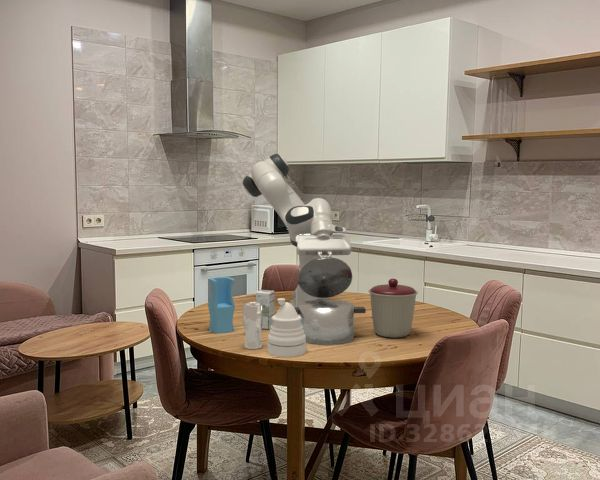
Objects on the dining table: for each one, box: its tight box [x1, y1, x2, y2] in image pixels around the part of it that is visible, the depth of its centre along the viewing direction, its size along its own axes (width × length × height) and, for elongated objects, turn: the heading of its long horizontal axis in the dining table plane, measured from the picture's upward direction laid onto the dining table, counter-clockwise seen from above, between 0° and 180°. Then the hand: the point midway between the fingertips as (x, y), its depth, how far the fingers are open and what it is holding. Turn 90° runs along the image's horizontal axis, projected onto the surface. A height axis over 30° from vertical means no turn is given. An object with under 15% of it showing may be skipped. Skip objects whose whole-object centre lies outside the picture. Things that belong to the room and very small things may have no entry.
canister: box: [368, 278, 419, 339], centre depth 219 cm, size 18×18×21 cm
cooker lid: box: [297, 256, 353, 299], centre depth 219 cm, size 20×20×3 cm
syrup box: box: [255, 289, 275, 331], centre depth 229 cm, size 6×6×14 cm
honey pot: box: [267, 297, 307, 358], centre depth 197 cm, size 13×13×18 cm
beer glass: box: [242, 301, 263, 350], centre depth 202 cm, size 7×7×15 cm
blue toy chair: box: [207, 276, 236, 334], centre depth 224 cm, size 8×8×20 cm
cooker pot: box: [294, 297, 366, 346], centre depth 216 cm, size 22×28×12 cm
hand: (325, 262), depth 214 cm, fingers closed, pressing on cooker lid
